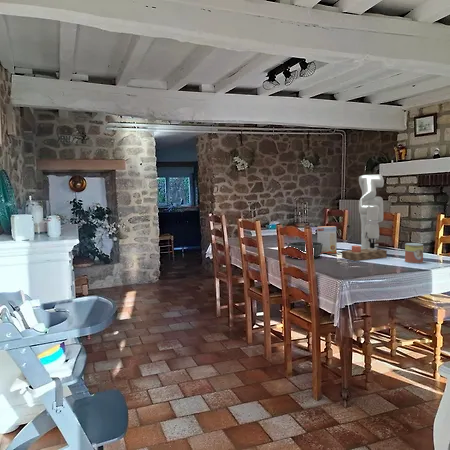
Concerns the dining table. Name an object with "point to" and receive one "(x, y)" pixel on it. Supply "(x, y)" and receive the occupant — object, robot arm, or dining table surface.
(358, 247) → the salmon pink cube
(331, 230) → the cracker box
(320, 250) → the bundt pan
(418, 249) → the canned food
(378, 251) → the block
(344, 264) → the dining table surface
